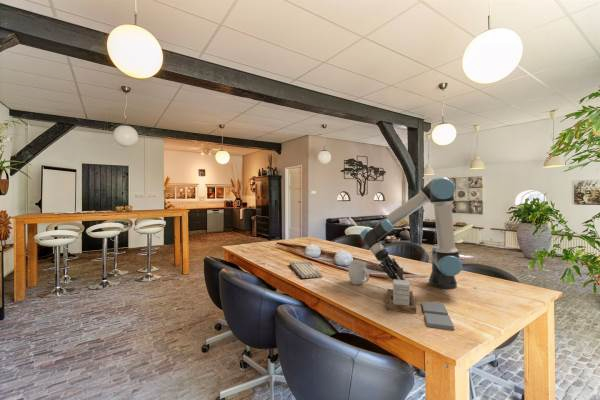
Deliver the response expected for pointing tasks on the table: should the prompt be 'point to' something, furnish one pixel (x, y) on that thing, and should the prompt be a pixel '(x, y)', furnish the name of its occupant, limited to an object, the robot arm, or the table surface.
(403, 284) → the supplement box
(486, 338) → the table surface
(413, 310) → the brown base with post
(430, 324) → the broken grey strip
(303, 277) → the mechanical keyboard
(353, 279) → the mug
